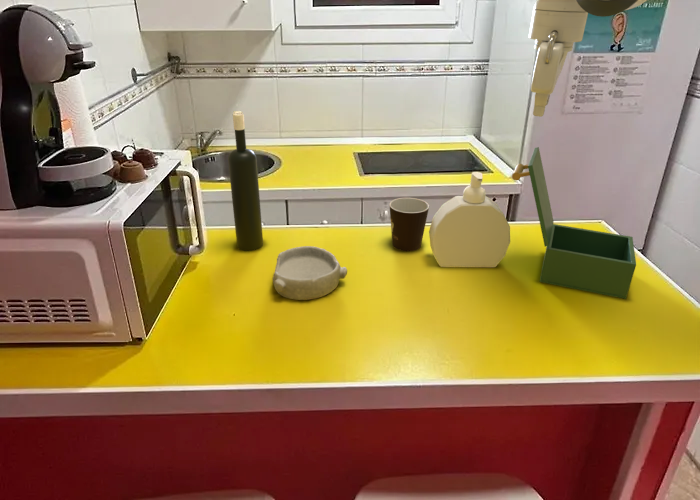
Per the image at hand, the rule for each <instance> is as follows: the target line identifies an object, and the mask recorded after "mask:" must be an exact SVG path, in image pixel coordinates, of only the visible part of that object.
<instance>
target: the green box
mask: <svg viewBox="0 0 700 500" xmlns="http://www.w3.org/2000/svg"><path fill="white" fill-rule="evenodd" d="M634 245H635V244H634V239H633V236H630V235H624V234H618V233H617V234H616V233H611V232H605V231H599V230H593V229H587V228H580V227H574V226H567V225H562V224H555V223H553V227H552V233H551V238H550V243H549V246H546V248H545V252H544V257H543V261H542V267H541V272H540V277H539V282H540V283H543V284H548V285H554V286H559V287H564V288H567V289H568V288H569V289H574V290H580V291H584V292H587V293H588V292H589V293H594V294H599V295H604V296H610V297H612V298H613V297H614V298H619V299H624V300H627V296H628V293H629V290H630V287H631V283H632V280H633V278H634V274H635V270H636V266H637V260H636V259H637V258H636V253H635V246H634Z"/></svg>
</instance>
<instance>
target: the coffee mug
mask: <svg viewBox="0 0 700 500" xmlns="http://www.w3.org/2000/svg"><path fill="white" fill-rule="evenodd" d="M388 206H389V217H390V232H391V243H392V247H393V248H394V249H396V250H398V251H402V252H415V251H418V250H420V248H421V247H422V242H423V238H424V235H425V234H424V233H425V229H426V223H427V219H428V214H429V209H430V204H429V203H428V202H427V201H425V200H423V199H419V198H416V197H400V198H395V199H393V200H391V201H390V202H389V205H388Z"/></svg>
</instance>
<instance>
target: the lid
mask: <svg viewBox="0 0 700 500" xmlns="http://www.w3.org/2000/svg"><path fill="white" fill-rule="evenodd" d="M540 151H541V150H540V147H539V146H537V147H534V149H533V150H532V154H531V157H530V159H529V162H528V164H523V163H517V164H516V165H515V168H514V169H513V172H512V175H511V178H512V180H514V181H519V180H520V179H521V178H523V177H529V178H530V182H531V188H532V192H533V193H532V194H533V197H534V202H535V208H536V211H537V217H538V222H539V225H540V231H541V234H542V235H541V236H542V240H543V245H544V247H547V246H549V243H550V238H551V233H552V227H553V224H554V222H555V221H554V216H553V211H552V207H551V202H550V201H551V200H550V196H549V191H548V187H547V181H546V176H545V171H544V166H543V162H542V161H543V160H542V156H541V152H540ZM524 170H528V171H524Z"/></svg>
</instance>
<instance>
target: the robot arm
mask: <svg viewBox="0 0 700 500" xmlns="http://www.w3.org/2000/svg"><path fill="white" fill-rule="evenodd" d="M647 1H648V0H536V1H535V3H534V5H533V9H532V15H531V19H530V26H529V32H528V38H529V39H531V40H535V41H534V46H533V49H534V50H537V55H536V59H535V63H534V69H533V73H532V78H531V83H530V91H531V92H532V93H535V94H534V105H533V111H532V115H533V116H534V117H539V118H540V117H543V116H544V115H545V111H546V106H548V104H549V101H550V97H551V95H552V94H553V93H554V91H555V87H556V85H557V83H558V80H559V78H560V76H561V73H562V70H563V67H564V65H565V62H566V58H567V56H568V53H569V52H572V51H573V49H574V48H573V46H574V44H575V43H580V42H582V41H583V38H584V33H585V30H586V29H585V28H586V25H587V20H588V15H592V16H595V17H603V18H604V17H611V16H612V17H613V16H616V15H618V14H620V13H623V12H624V11H628V10H632V9H635V8H637V7H639V6H641V5H643V4H644V3H645V2H647Z"/></svg>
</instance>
